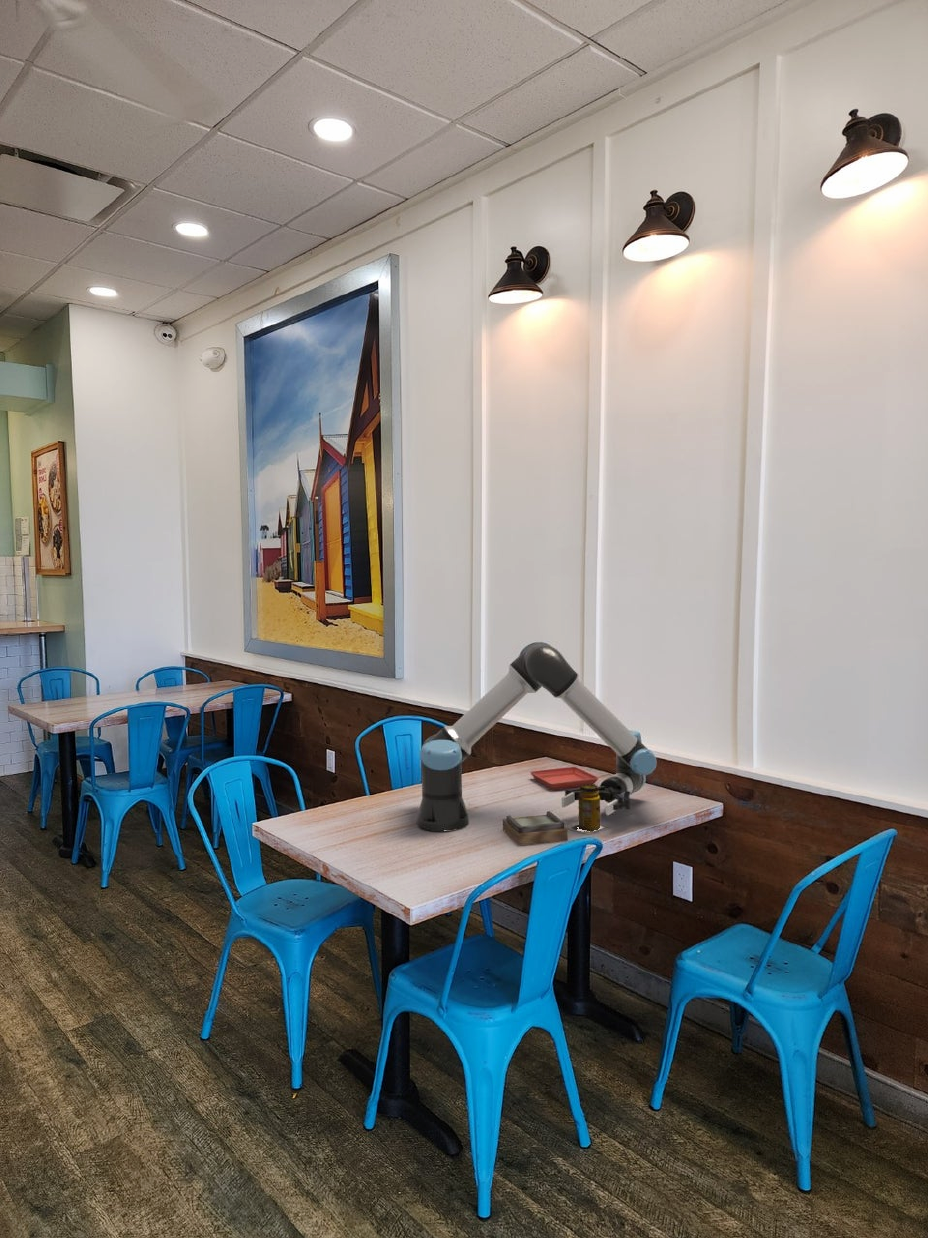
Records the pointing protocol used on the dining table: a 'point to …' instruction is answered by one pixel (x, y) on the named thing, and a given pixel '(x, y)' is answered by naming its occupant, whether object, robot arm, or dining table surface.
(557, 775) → the plant saucer
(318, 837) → the dining table surface
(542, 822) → the dock
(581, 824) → the condiment
